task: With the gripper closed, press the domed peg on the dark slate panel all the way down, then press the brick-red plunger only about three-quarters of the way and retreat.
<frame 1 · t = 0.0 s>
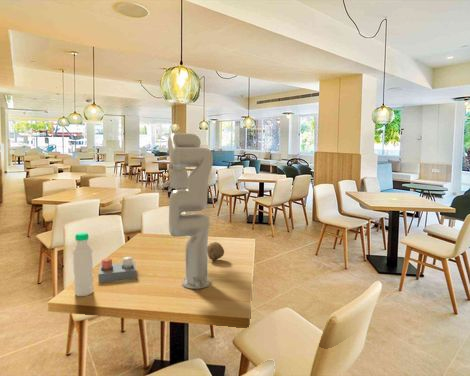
hand: (178, 198, 186), 31 cm above the table, fingers open, 9 cm apart
natural sponge: (215, 260, 178), on the table
water bottle: (84, 293, 137), on the table
red plug: (107, 264, 153), point 6 cm above the table, slide at 0.0 cm
domed peg: (127, 262, 156), point 6 cm above the table, slide at 0.0 cm
panel: (117, 275, 155), on the table
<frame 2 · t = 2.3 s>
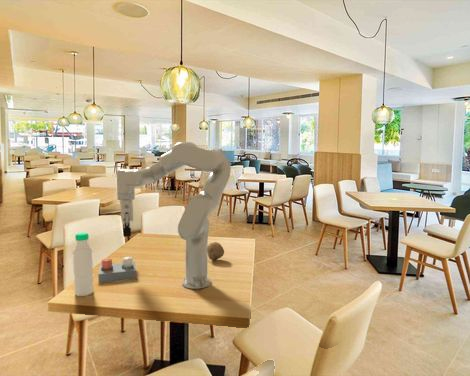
hand: (126, 234, 154), 20 cm above the table, fingers open, 6 cm apart
nothing on the table moved.
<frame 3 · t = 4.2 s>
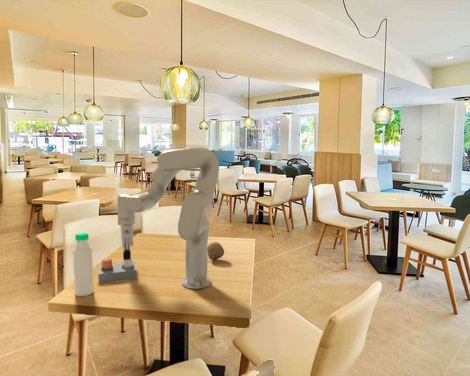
hand: (127, 259, 156), 8 cm above the table, fingers closed
domed peg: (127, 263, 156), point 5 cm above the table, slide at 0.4 cm, touching gripper
everything else where it was.
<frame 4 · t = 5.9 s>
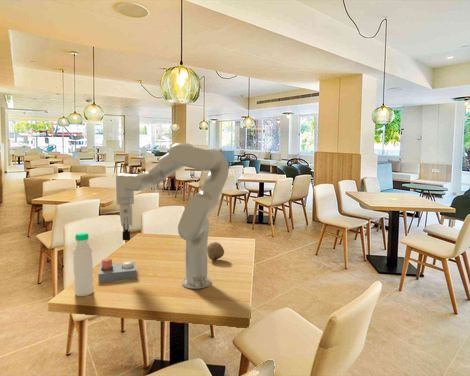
hand: (126, 239, 154), 17 cm above the table, fingers closed
domed peg: (127, 267, 156), point 3 cm above the table, slide at 2.4 cm
everything else where it was.
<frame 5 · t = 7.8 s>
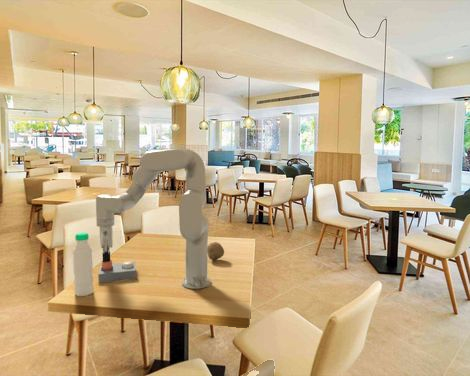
hand: (106, 261, 153), 8 cm above the table, fingers closed
red plug: (107, 265, 153), point 5 cm above the table, slide at 0.5 cm, touching gripper
everything else where it was.
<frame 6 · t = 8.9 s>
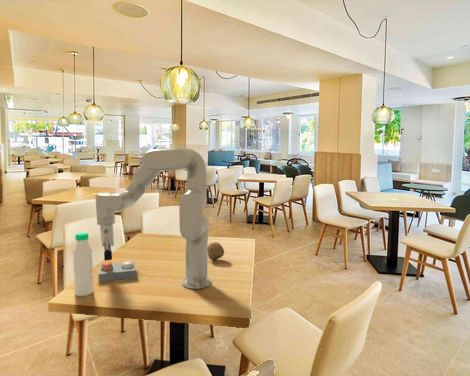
hand: (108, 259, 152), 8 cm above the table, fingers closed
red plug: (107, 268, 153), point 4 cm above the table, slide at 1.8 cm
everything else where it was.
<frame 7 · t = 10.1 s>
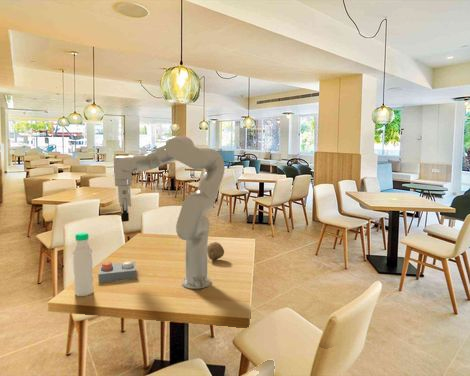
hand: (125, 221, 158), 25 cm above the table, fingers closed
nothing on the table moved.
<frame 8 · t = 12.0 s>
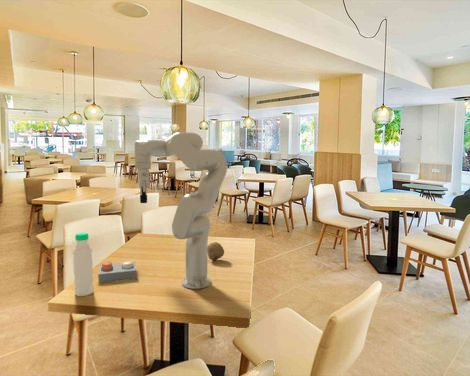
hand: (143, 202, 165), 32 cm above the table, fingers closed
nothing on the table moved.
at the end: domed peg slide at 2.4 cm; red plug slide at 1.8 cm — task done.
